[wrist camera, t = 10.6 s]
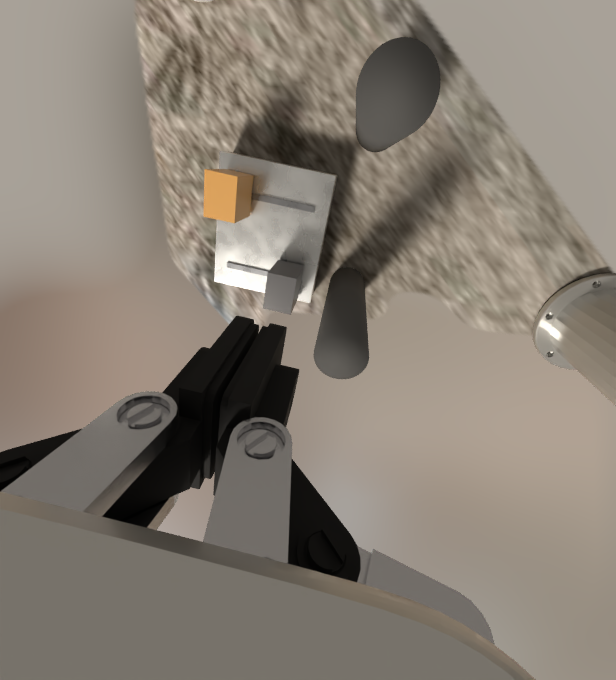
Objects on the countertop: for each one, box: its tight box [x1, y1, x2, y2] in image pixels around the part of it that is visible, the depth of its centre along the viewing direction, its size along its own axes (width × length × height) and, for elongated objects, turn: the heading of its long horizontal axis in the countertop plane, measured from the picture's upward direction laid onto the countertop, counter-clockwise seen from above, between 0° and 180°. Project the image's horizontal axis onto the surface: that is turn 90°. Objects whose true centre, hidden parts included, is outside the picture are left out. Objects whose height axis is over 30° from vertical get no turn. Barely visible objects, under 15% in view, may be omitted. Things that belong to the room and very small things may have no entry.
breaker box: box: [214, 151, 338, 303], centre depth 37 cm, size 12×14×4 cm
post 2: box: [356, 37, 440, 152], centre depth 25 cm, size 4×4×18 cm
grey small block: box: [263, 260, 304, 314], centre depth 35 cm, size 3×4×5 cm
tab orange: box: [204, 169, 253, 223], centre depth 31 cm, size 3×4×5 cm
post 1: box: [314, 267, 369, 379], centre depth 33 cm, size 4×4×18 cm
